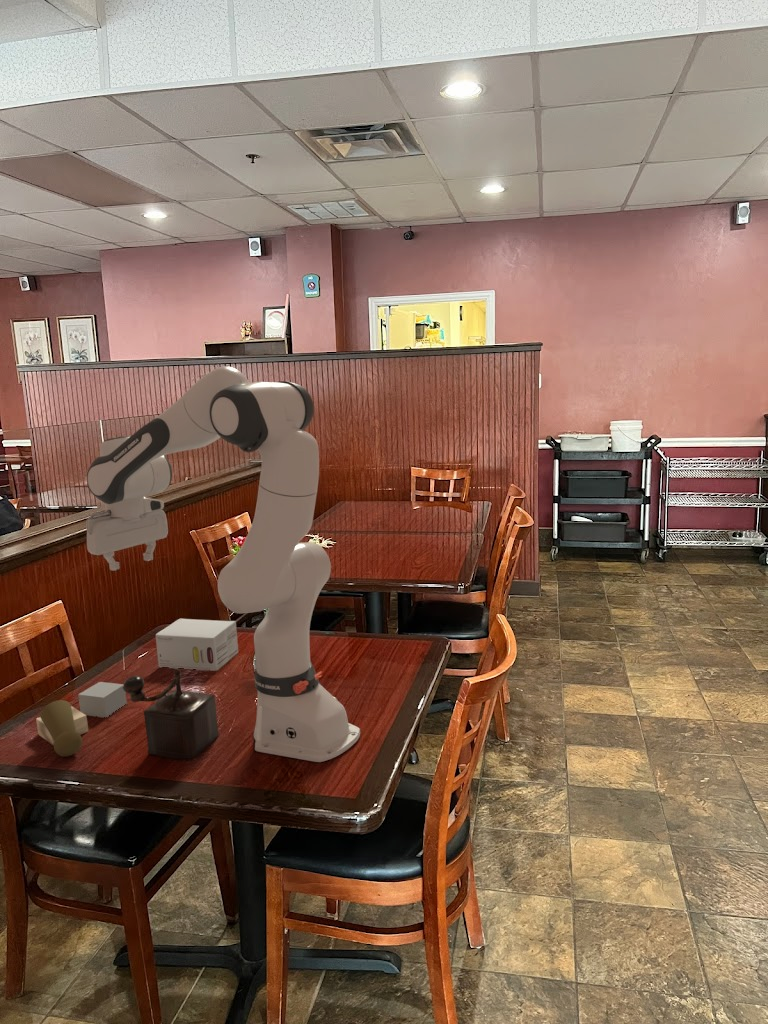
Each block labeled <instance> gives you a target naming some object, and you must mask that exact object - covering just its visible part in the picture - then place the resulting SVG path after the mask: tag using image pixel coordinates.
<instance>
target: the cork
mask: <svg viewBox="0 0 768 1024" xmlns="http://www.w3.org/2000/svg"><path fill="white" fill-rule="evenodd" d="M71 706H72V705H71V703H70V702H69V701H67V700H63V699H58V700H55V701H52V702H49V703H48V704H47V705H45V706H44V707H43V708H42V710H41V711H40V714H39V717H40V718H41V719H42V721H43V723H44V724H45V726H46V728H47V729H48V731H49V733H50V734H51V736H52V738H53V739H54V741H55V742H54V745H53V749H54V752H55V753H56V754H57V755H58V756H60V757H70V756H72V755H75V754H76V753H77V752H79V751H80V749H81V748H82V746H83V745H82V744H83V737H82V736H81V735H80V734H79V733H78V732H76V729H75V724H74V719H73V714H72V708H71Z"/></svg>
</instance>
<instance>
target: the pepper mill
mask: <svg viewBox="0 0 768 1024" xmlns="http://www.w3.org/2000/svg"><path fill="white" fill-rule="evenodd" d="M181 670H182V669H178V668H174V670H173V673H174V676H173V680H172V682H170V684H169V685H168V687H166V688H165V689H164V690H163V691H161V692H160V693H158V694H156V695H154V696H146V693H145V692H144V691H143V688H144V686H145V680H144V678H143V677H142V676H138V675H133V676H130V677H128V678H126V679H125V680H124V682H123V684H124V686H123V690H124V691H125V693H128V694H129V695H130V696H129V697H130V698H129V701H131V702H132V703H135V702H137V703H138V702H149V703H150V702H154V701H155V702H154V703H153V704H151V705H150V706H148V708H146V709H144V710H143V714H144V715H143V716H144V722H145V733H146V734H145V735H146V741H147V754H150V755H153V756H156V757H158V758H159V757H161V758H165V759H174V760H179V761H180V760H181V761H192V760H194V759H195V758H197V757H198V756H199V755H200V754H201V753H203V752H204V751H205V750H206V749H207V748H208V747H209V746H210V745H211V744H212V743H213V742H215V740H216V739H217V738H218V737H219V733H220V732H219V728H218V727H219V726H218V717H217V704H216V696H215V694H213V693H212V694H210V693H204V692H203V693H202V692H194V691H187V690H182V687H181V685H182V684H181V680H182V674H181ZM174 687H176V688H175V689H174ZM171 690H172V691H171Z"/></svg>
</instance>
